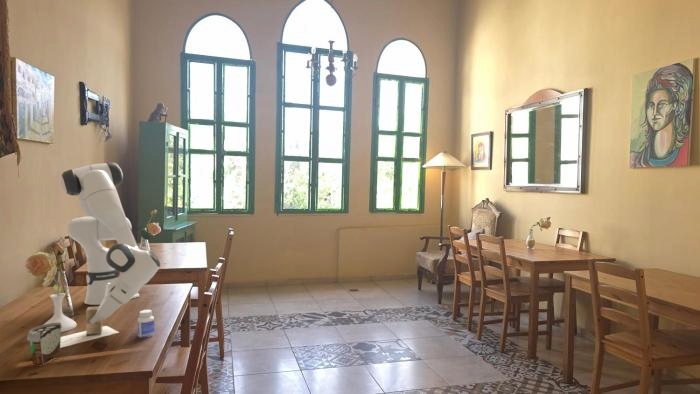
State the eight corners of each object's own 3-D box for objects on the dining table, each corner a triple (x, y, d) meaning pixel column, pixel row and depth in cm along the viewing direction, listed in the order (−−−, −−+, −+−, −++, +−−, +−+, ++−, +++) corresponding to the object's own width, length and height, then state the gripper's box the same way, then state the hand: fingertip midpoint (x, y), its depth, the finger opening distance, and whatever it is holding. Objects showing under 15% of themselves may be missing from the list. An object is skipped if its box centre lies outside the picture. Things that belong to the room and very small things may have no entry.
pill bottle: (158, 336, 161) (157, 309, 161) (146, 341, 156) (146, 314, 156) (146, 334, 163) (145, 308, 163) (134, 339, 158) (133, 312, 158)
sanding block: (102, 330, 164) (102, 305, 164) (100, 334, 160) (100, 309, 159) (88, 331, 162) (87, 307, 162) (86, 335, 158) (86, 310, 158)
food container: (42, 352, 147) (41, 322, 146) (62, 351, 148) (61, 321, 147) (18, 368, 135) (17, 335, 134) (40, 368, 135) (38, 335, 135)
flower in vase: (44, 328, 169) (41, 263, 168) (79, 324, 174) (77, 260, 172) (35, 340, 157) (33, 270, 156) (73, 336, 162) (71, 267, 160)
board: (106, 328, 169) (106, 325, 169) (119, 335, 162) (119, 332, 162) (44, 344, 154) (44, 340, 154) (56, 352, 147) (56, 348, 147)
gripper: (117, 278, 172) (89, 306, 169) (112, 291, 154) (80, 323, 150) (131, 288, 174) (103, 316, 171) (127, 302, 155) (96, 334, 152)
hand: (92, 319), depth 161 cm, fingers closed on sanding block, 4 cm apart
